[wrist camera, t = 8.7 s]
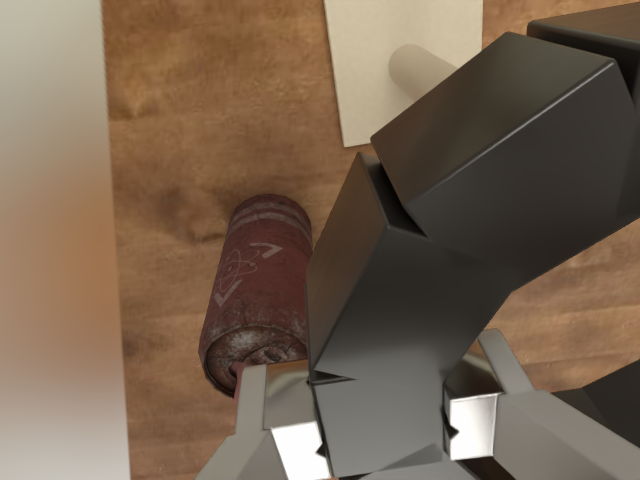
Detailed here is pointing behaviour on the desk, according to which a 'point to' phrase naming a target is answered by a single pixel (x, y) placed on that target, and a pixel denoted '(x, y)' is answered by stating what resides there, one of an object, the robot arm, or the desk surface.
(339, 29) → the stand
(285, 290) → the can
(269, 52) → the desk surface
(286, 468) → the robot arm
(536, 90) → the ring
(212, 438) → the desk surface
